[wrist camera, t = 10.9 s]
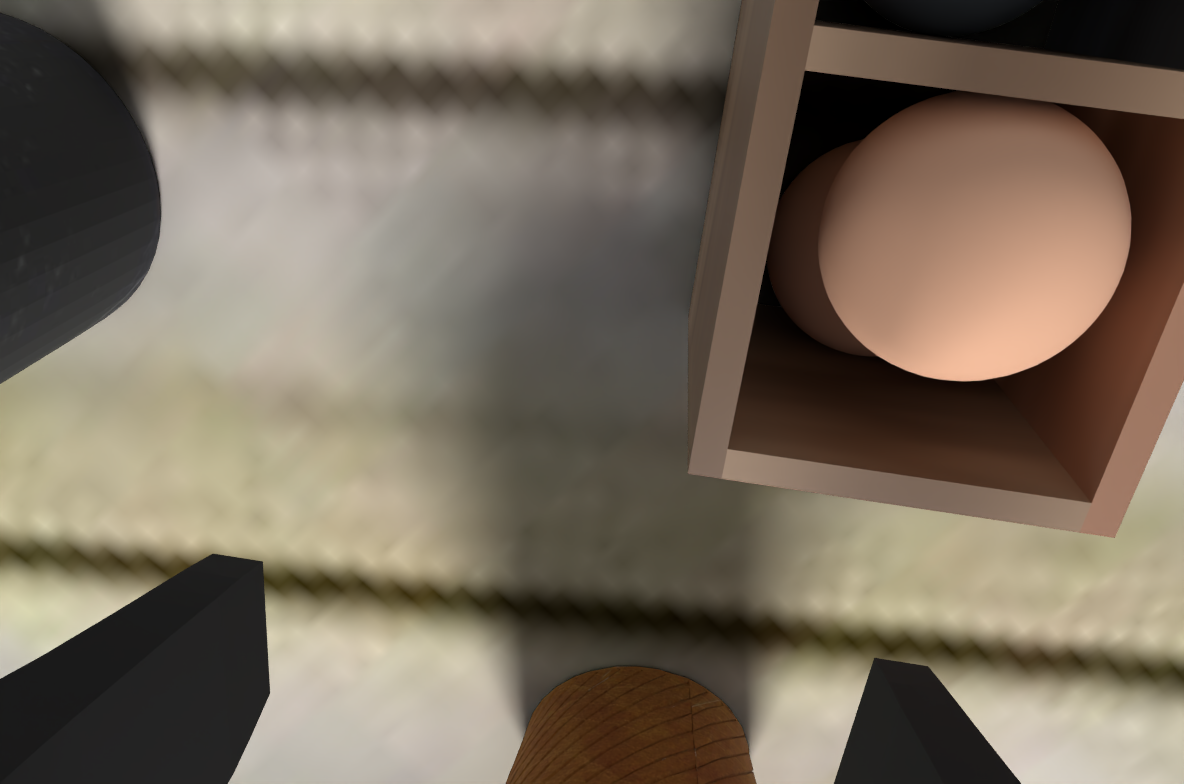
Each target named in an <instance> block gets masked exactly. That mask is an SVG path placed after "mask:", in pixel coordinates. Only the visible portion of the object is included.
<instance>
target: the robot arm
mask: <svg viewBox="0 0 1184 784" xmlns="http://www.w3.org/2000/svg"><path fill="white" fill-rule="evenodd" d="M269 694H270V684H269V666H268V648H267V630H266V612H265V594H264V576H263V562H262V561H256V560H250V559H243V558H237V557H231V556H224V555H218V554H212V555H210V556H208V557H206V558H204V559H203V560H201V561H199V562H197V563H196V564H194V565H192V566H190V567H189V568H187V569H185V570H184V571H182V572H180V573H179V574H177V575H175V576H174V577H172V578H170V579H169V580H167V581H165V582H164V583H162V584H161V585H159V586H157V587H156V588H154V589H152V590H151V591H149V592H148V593H146V594H144V595H143V596H141V597H139V598H138V599H136V600H134V601H133V602H131V603H130V604H128V605H126V606H125V607H123V608H121V609H120V610H118V611H117V612H115V613H113V614H112V615H110V616H108V617H106V618H105V619H103V620H101V621H100V622H98V623H96V624H95V625H93V626H91V627H90V628H88V629H86V630H85V631H83V632H81V633H80V634H78V635H76V636H75V637H73V638H71V639H70V640H68V641H66V642H65V643H63V644H61V645H60V646H58V647H56V648H55V649H53V650H51V651H50V652H48V653H46V654H44V655H43V656H41V657H39V658H38V659H36V660H34V661H32V662H30V663H28V664H27V665H25V666H23V667H21V668H19V669H17V670H16V671H14V672H12V673H10V674H8V675H7V676H5V677H3V678H1V679H0V784H228V782H229V780H230V779H231V777H232V775H233V773H234V771H235V769H236V767H237V765H238V763H239V761H240V759H241V756H242V754H243V752H244V750H245V748H246V746H247V744H248V742H249V740H250V737H251V735H252V733H253V731H254V728H255V726H256V724H257V722H258V719H259V717H260V715H261V712H262V710H263V708H264V706H265V703H266V701H267V699H268V697H269ZM834 784H1021V783H1020V781H1019V780H1018V779H1017V778H1016V777H1015V775H1014V774H1013V773H1012V772H1011V770H1010V769H1009V768H1008V767H1007V765H1006V764H1005V763H1004V762H1003V760H1002V759H1001V758H1000V757H999V755H998V754H997V753H996V751H995V750H994V749H993V748H992V746H991V745H990V744H989V743H988V741H987V740H986V739H985V738H984V736H983V735H982V734H981V733H980V731H979V730H978V729H977V727H976V726H975V725H974V724H973V722H972V721H971V720H970V718H969V717H968V716H967V715H966V713H965V712H964V711H963V710H962V708H961V707H960V706H959V704H958V703H957V702H956V701H955V699H954V698H953V697H952V695H951V694H950V693H949V692H948V690H947V689H946V688H945V687H944V685H943V684H942V683H941V682H940V680H939V679H938V678H937V677H936V675H935V674H934V673H933V672H932V671H931V669H930V668H929V667H928V666H922V665H916V664H910V663H903V662H897V661H891V660H884V659H878V658H874V661H873V664H872V667H871V670H870V673H869V676H868V679H867V682H866V685H865V689H864V692H863V695H862V698H861V701H860V704H859V707H858V710H857V713H856V717H855V720H854V723H853V726H852V729H851V732H850V735H849V738H848V741H847V744H846V748H845V751H844V754H843V757H842V760H841V763H840V766H839V769H838V772H837V776H836V779H835V782H834Z"/></svg>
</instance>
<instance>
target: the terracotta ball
mask: <svg viewBox="0 0 1184 784" xmlns="http://www.w3.org/2000/svg"><path fill="white" fill-rule="evenodd" d="M1130 242H1131V209H1130V202H1129V198H1128V194H1127V190H1126V186H1125V182H1124V179H1123V177H1122V174H1121V172H1120V169H1119V168H1118V166H1117V164H1116V162H1115V160H1114V158H1113V157H1112V155H1111V154H1110V152H1109V151H1108V149H1107V148H1106V147H1105V145H1104V144H1103V142H1102V141H1101V140H1100V139H1099V138H1098V136H1097V135H1096V134H1095V133H1094V132H1093V131H1092V130H1091V129H1090V128H1089V127H1088V126H1087V125H1086V124H1084V123H1083V122H1082V121H1081V120H1079V119H1078V118H1077V117H1075V116H1074V115H1072V114H1071V113H1069V112H1068V111H1066V110H1065V109H1063V108H1061V107H1059V106H1057V105H1055V104H1053V103H1051V102H1047V101H1039V100H1031V99H1024V98H1016V97H1008V96H1000V95H993V94H985V93H977V92H969V91H955V92H951V93H947V94H943V95H939V96H935V97H931V98H929V99H926V100H924V101H921V102H918V103H916V104H914V105H912V106H910V107H908V108H906V109H904V110H902V111H900V112H899V113H897V114H895V115H893V116H892V117H890V118H889V119H888V120H886V121H885V122H883V123H882V124H881V125H879V126H878V127H877V128H876V129H874V130H873V131H872V132H871V133H870V134H869V135H868V136H867V137H866V138H865V139H864V140H863V141H862V142H861V143H860V144H859V145H858V146H857V147H856V148H855V149H854V150H853V151H852V153H851V154H850V155H849V157H848V158H847V160H846V161H845V163H844V164H843V166H842V167H841V169H840V170H839V172H838V173H837V175H836V177H835V179H834V181H833V183H832V186H831V188H830V190H829V192H828V195H827V197H826V200H825V203H824V207H823V212H822V216H821V220H820V224H819V235H818V256H819V266H820V270H821V274H822V279H823V283H824V286H825V289H826V292H827V295H828V297H829V300H830V302H831V303H832V305H833V307H834V309H835V311H836V313H837V314H838V316H839V317H840V319H841V320H842V321H843V323H844V324H845V326H846V327H847V328H848V329H849V331H850V332H851V333H852V334H853V335H854V336H855V337H856V338H857V339H858V340H859V341H860V342H861V343H862V344H863V345H864V346H865V347H866V348H868V349H869V350H870V351H872V352H873V353H875V354H876V355H877V356H879V357H880V358H882V359H884V360H886V361H887V362H889V363H891V364H893V365H895V366H897V367H900V368H902V369H904V370H906V371H909V372H912V373H915V374H918V375H921V376H924V377H929V378H934V379H940V380H952V381H980V380H986V379H992V378H998V377H1003V376H1008V375H1011V374H1014V373H1017V372H1020V371H1023V370H1026V369H1028V368H1031V367H1033V366H1036V365H1038V364H1040V363H1042V362H1043V361H1045V360H1047V359H1049V358H1051V357H1052V356H1054V355H1056V354H1057V353H1059V352H1061V351H1062V350H1063V349H1065V348H1066V347H1067V346H1069V345H1070V344H1071V343H1073V342H1074V341H1075V340H1076V339H1077V338H1078V337H1080V336H1081V335H1082V334H1083V333H1084V332H1085V331H1086V330H1087V329H1088V328H1089V327H1090V326H1091V325H1092V324H1093V323H1094V321H1095V320H1096V319H1097V318H1098V316H1099V315H1100V314H1101V312H1102V311H1103V310H1104V308H1105V307H1106V305H1107V304H1108V302H1109V301H1110V299H1111V298H1112V296H1113V294H1114V292H1115V290H1116V288H1117V286H1118V284H1119V281H1120V279H1121V276H1122V274H1123V272H1124V268H1125V265H1126V261H1127V257H1128V252H1129V248H1130Z"/></svg>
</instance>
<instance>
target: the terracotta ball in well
mask: <svg viewBox="0 0 1184 784" xmlns="http://www.w3.org/2000/svg"><path fill="white" fill-rule="evenodd" d="M863 140H864V139H863ZM863 140H858V141H855V142H851V143H848V144H845V145H842V146H840V147H838V148H835V149H833V150H831V151H829V152H828V153H826V154H824V155H822V156H820V157H819V158H818V159H816V160H815V161H813V162H812V163H811V164H809V165H808V166H807V167H806V168H805V169H804V170H803V171H801V172H800V173H799V175H798V176H797V177H796V178H795V179H794V180H793V181H792V183H791V184H790V185H789V187H788V188H787V190H786V191H785V193H784V194H783V196H782V197H781V199H780V201H779V203H778V205H777V209H776V214H775V219H774V224H773V229H772V234H771V239H770V243H769V248H768V253H767V266H768V272H769V278H770V281H771V284H772V287H773V290H774V292H775V294H776V297H777V299H778V301H779V303H780V305H781V306H782V308H783V309H784V310H785V312H786V313H787V315H788V316H789V317H790V318H791V320H792V321H793V322H794V323H795V324H796V325H797V326H798V327H799V328H800V329H801V330H803V331H804V332H805V333H806V334H808V335H809V336H810V337H812V338H813V339H815V340H816V341H818V342H820V343H821V344H823V345H826V346H828V347H830V348H832V349H835V350H838V351H841V352H845V353H848V354H853V355H858V356H869V357H876V356H877V355H876V354H875V353H873V352H872V351H870V350H869V349H868V348H866V347H865V346H864V345H863V344H862V343H861V342H860V341H859V340H858V339H857V338H856V337H855V336H854V335H853V334H852V333H851V332H850V331H849V329H848V328H847V327H846V326H845V324H844V323H843V321H842V320H841V319H840V317H839V316H838V314H837V313H836V311H835V309H834V307H833V305H832V303H831V302H830V300H829V297H828V295H827V292H826V289H825V286H824V283H823V279H822V274H821V270H820V266H819V256H818V235H819V224H820V220H821V216H822V212H823V207H824V203H825V200H826V197H827V195H828V192H829V190H830V188H831V186H832V183H833V181H834V179H835V177H836V175H837V173H838V172H839V170H840V169H841V167H842V166H843V164H844V163H845V161H846V160H847V158H848V157H849V155H850V154H851V153H852V151H853V150H854V149H855V148H856V147H857V146H858V145H859V144H860V143H861V142H862V141H863Z"/></svg>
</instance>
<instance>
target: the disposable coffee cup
mask: <svg viewBox="0 0 1184 784" xmlns="http://www.w3.org/2000/svg"><path fill="white" fill-rule="evenodd" d="M752 770H753V767H752V763H751V759H750V755H749V747H748V744H747V741H746V738H745V735H744V732H743V729H742V726H741V725H740V723H739V722H738V720H737V719H736V717H735V716H734V714H733V713H732V711H731V710H730V709H729V708H728V706H727V705H726V704H725V703H724V702H723V701H722V700H721V699H719V698H718V697H717V696H715V695H714V694H713V693H711V692H710V691H709V690H707V689H706V688H705V687H703V686H701V685H699V684H697V683H695V682H694V681H692V680H690V679H688V678H685V677H682V676H679V675H675V674H672V673H669V672H666V671H662V670H659V669H653V668H646V667H611V668H605V669H600V670H595V671H590V672H587V673H584V674H581V675H578V676H575V677H573V678H571V679H569V680H568V681H566V682H564V683H562V684H561V685H559V686H557V687H556V688H555V689H553V690H552V691H551V692H550V693H549V694H548V695H547V696H546V697H544V698H543V699H542V701H541V702H540V703H539V705H538V706H537V708H536V709H535V711H534V712H533V714H532V716H531V719H530V722H529V724H528V727H527V730H526V733H525V735H524V738H523V741H522V743H521V746H520V749H519V751H518V754H517V756H516V759H515V762H514V764H513V767H512V769H511V771H510V774H509V776H508V779H507V782H506V784H756V780H755V777H754V773H753V772H752Z"/></svg>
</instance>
